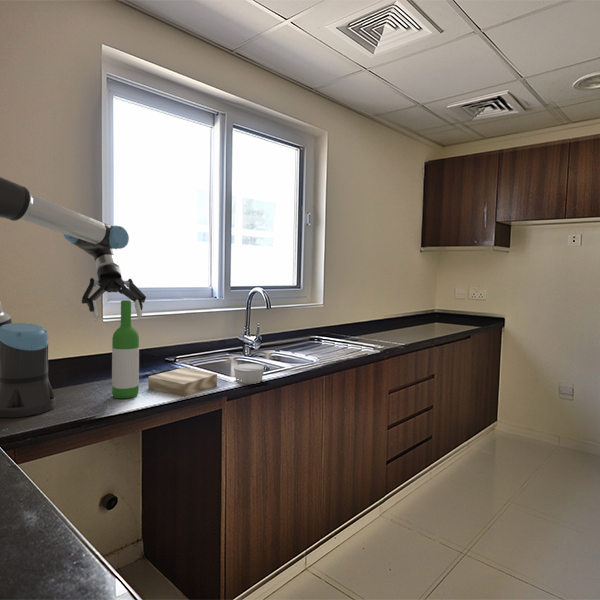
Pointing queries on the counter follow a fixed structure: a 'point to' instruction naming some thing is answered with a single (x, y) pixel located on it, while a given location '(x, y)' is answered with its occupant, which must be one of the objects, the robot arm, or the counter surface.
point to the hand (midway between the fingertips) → (118, 317)
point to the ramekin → (249, 373)
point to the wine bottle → (125, 356)
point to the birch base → (182, 381)
